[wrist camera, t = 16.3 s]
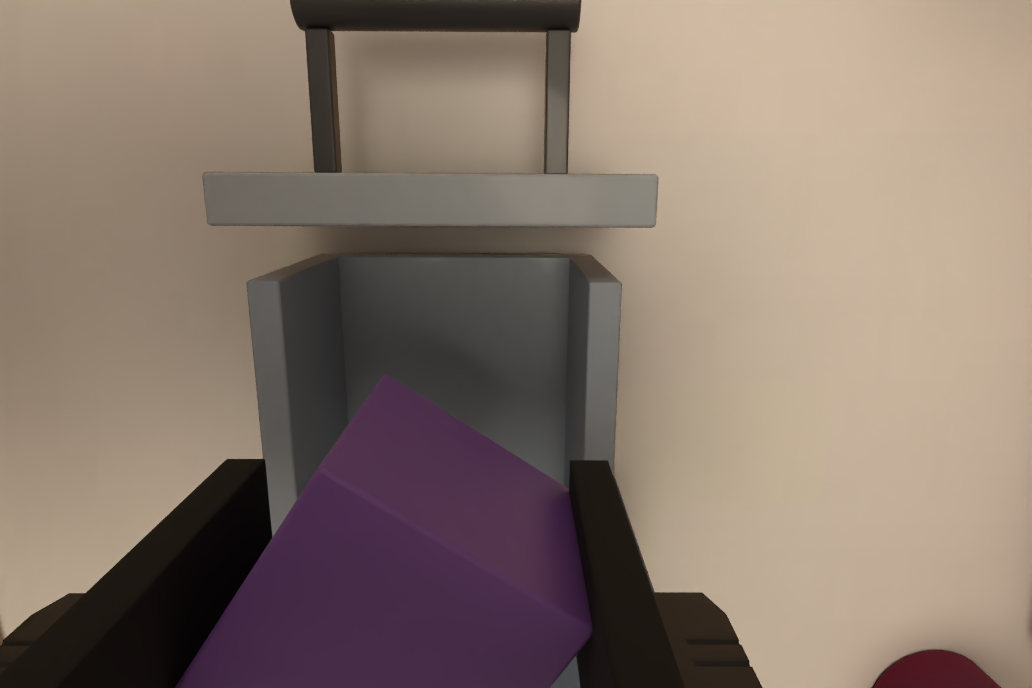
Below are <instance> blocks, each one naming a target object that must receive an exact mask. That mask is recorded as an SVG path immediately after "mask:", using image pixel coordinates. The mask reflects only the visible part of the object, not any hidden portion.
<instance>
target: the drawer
mask: <svg viewBox="0 0 1032 688" xmlns="http://www.w3.org/2000/svg"><path fill="white" fill-rule="evenodd" d="M290 4H291V9H292V13H293V16H294V19H295V22H296V24H297V26H298V27H299V29H301V30H303V31H305V37H306V52H307V67H308V82H309V97H310V112H311V127H312V142H313V157H314V171H315V173H292V172H205V173H203V175H202V178H203V187H204V197H205V206H206V215H207V223H208V224H209V225H211V226H409V227H625V228H652V227H655V225H656V214H657V196H658V176H657V175H655V174H567V173H568V137H569V93H570V50H571V32H577V31H578V28H579V22H580V12H581V0H290ZM331 31H426V32H547V33H546V57H545V126H544V174H487V173H341V172H342V165H341V147H340V130H339V112H338V95H337V77H336V59H335V42H334V34H333V33H332V32H331ZM247 292H248V303H249V313H250V324H251V335H252V345H253V356H254V366H255V377H256V388H257V398H258V409H259V419H260V430H261V440H262V451H263V459H265V463H266V473H267V484H268V495H269V506H270V517H271V527H272V537H273V536H274V534H275V533H276V531H277V530H278V528H279V527H280V525H281V524H282V522H283V520H284V519H285V517H286V516H287V514H288V513H289V511H290V510H291V508H292V507H293V505H294V504H295V502H296V500H297V499H298V497H299V496H300V494H301V493H302V491H303V490H304V488H305V487H306V485H307V483H308V482H309V480H310V479H311V477H312V476H313V474H314V473H315V471H316V470H317V468H318V467H319V465H320V464H321V462H322V461H323V460H324V458H325V457H326V455H327V454H328V453H329V451H330V450H331V448H332V447H333V446H334V444H335V443H336V441H337V440H338V439H339V437H340V436H341V434H342V433H343V432H344V430H345V429H346V427H347V426H348V425H349V423H350V422H351V420H352V419H353V417H354V416H355V415H356V413H357V412H358V410H359V409H360V408H361V406H362V405H363V403H364V402H365V401H366V399H367V398H368V396H369V395H370V394H371V392H372V391H373V389H374V388H375V387H376V385H377V384H378V382H379V381H380V379H381V378H382V377H383V376H384V375H388V376H390V377H392V378H393V379H395V380H396V381H398V382H400V383H401V384H403V385H404V386H406V387H408V388H409V389H411V390H412V391H414V392H415V393H417V394H419V395H420V396H422V397H423V398H425V399H427V400H428V401H430V402H431V403H433V404H435V405H436V406H438V407H439V408H441V409H443V410H444V411H446V412H447V413H449V414H450V415H452V416H454V417H455V418H457V419H458V420H460V421H462V422H463V423H465V424H466V425H468V426H470V427H471V428H473V429H474V430H476V431H478V432H479V433H481V434H482V435H484V436H486V437H487V438H489V439H490V440H492V441H493V442H495V443H497V444H498V445H500V446H501V447H503V448H505V449H506V450H508V451H509V452H511V453H513V454H514V455H516V456H517V457H519V458H521V459H522V460H524V461H525V462H527V463H528V464H530V465H532V466H533V467H535V468H536V469H538V470H540V471H541V472H543V473H544V474H546V475H548V476H549V477H551V478H552V479H554V480H556V481H557V482H559V483H560V484H562V485H563V486H565V487H567V488H568V489H569V473H570V460H608V462H609V465H610V468H611V471H612V474H613V476H614V453H615V430H616V408H617V385H618V362H619V339H620V317H621V294H622V283H621V282H620V281H619V280H618V279H617V278H616V277H614V276H613V275H612V274H611V273H610V272H609V271H608V270H607V269H606V268H605V267H603V266H602V265H601V264H600V263H599V262H598V261H597V260H596V259H595V258H594V257H593V256H591V255H538V254H319V255H317V256H314V257H312V258H309V259H306V260H304V261H301V262H298V263H295V264H293V265H290V266H287V267H284V268H282V269H279V270H276V271H273V272H271V273H268V274H265V275H263V276H260V277H257V278H254V279H252V280H249V281H247Z"/></svg>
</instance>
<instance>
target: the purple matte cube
mask: <svg viewBox="0 0 1032 688" xmlns="http://www.w3.org/2000/svg"><path fill="white" fill-rule="evenodd" d="M592 635H593V626H592V620H591V614H590V609H589V603H588V597H587V592H586V586H585V580H584V575H583V569H582V563H581V557H580V552H579V546H578V540H577V535H576V529H575V523H574V518H573V512H572V506H571V501H570V495H569V489H568V488H567V487H565V486H563V485H562V484H560V483H559V482H557V481H556V480H554V479H552V478H551V477H549V476H548V475H546V474H544V473H543V472H541V471H540V470H538V469H536V468H535V467H533V466H532V465H530V464H528V463H527V462H525V461H524V460H522V459H521V458H519V457H517V456H516V455H514V454H513V453H511V452H509V451H508V450H506V449H505V448H503V447H501V446H500V445H498V444H497V443H495V442H493V441H492V440H490V439H489V438H487V437H486V436H484V435H482V434H481V433H479V432H478V431H476V430H474V429H473V428H471V427H470V426H468V425H466V424H465V423H463V422H462V421H460V420H458V419H457V418H455V417H454V416H452V415H450V414H449V413H447V412H446V411H444V410H443V409H441V408H439V407H438V406H436V405H435V404H433V403H431V402H430V401H428V400H427V399H425V398H423V397H422V396H420V395H419V394H417V393H415V392H414V391H412V390H411V389H409V388H408V387H406V386H404V385H403V384H401V383H400V382H398V381H396V380H395V379H393V378H392V377H390V376H388V375H384V376H383V377H382V378H381V379H380V381H379V382H378V384H377V385H376V387H375V388H374V389H373V391H372V392H371V394H370V395H369V396H368V398H367V399H366V401H365V402H364V403H363V405H362V406H361V408H360V409H359V410H358V412H357V413H356V415H355V416H354V417H353V419H352V420H351V422H350V423H349V425H348V426H347V427H346V429H345V430H344V432H343V433H342V434H341V436H340V437H339V439H338V440H337V441H336V443H335V444H334V446H333V447H332V448H331V450H330V451H329V453H328V454H327V455H326V457H325V458H324V460H323V461H322V462H321V464H320V465H319V467H318V468H317V470H316V471H315V473H314V474H313V476H312V477H311V479H310V480H309V482H308V483H307V485H306V487H305V488H304V490H303V491H302V493H301V494H300V496H299V497H298V499H297V500H296V502H295V504H294V505H293V507H292V508H291V510H290V511H289V513H288V514H287V516H286V517H285V519H284V520H283V522H282V524H281V525H280V527H279V528H278V530H277V531H276V533H275V534H274V536H273V537H272V539H271V541H270V542H269V544H268V545H267V547H266V548H265V550H264V551H263V553H262V554H261V556H260V557H259V559H258V561H257V562H256V564H255V565H254V567H253V568H252V570H251V571H250V573H249V574H248V576H247V577H246V579H245V581H244V582H243V584H242V585H241V587H240V588H239V590H238V591H237V593H236V594H235V596H234V598H233V599H232V601H231V602H230V604H229V605H228V607H227V608H226V610H225V611H224V613H223V614H222V616H221V618H220V619H219V621H218V622H217V624H216V625H215V627H214V628H213V630H212V631H211V633H210V634H209V636H208V638H207V639H206V641H205V642H204V644H203V645H202V647H201V648H200V650H199V651H198V653H197V655H196V656H195V658H194V659H193V661H192V662H191V664H190V665H189V667H188V668H187V670H186V671H185V673H184V675H183V676H182V678H181V679H180V681H179V682H178V684H177V685H176V687H175V688H550V687H551V686H552V684H553V683H554V682H555V681H556V679H557V678H558V677H559V676H560V675H561V673H562V672H563V671H564V670H565V668H566V667H567V666H568V665H569V663H570V662H571V661H572V660H573V658H574V657H575V656H576V655H577V653H578V652H579V651H580V650H581V649H582V647H583V646H584V645H585V644H586V642H587V641H588V640H589V639H590V637H591V636H592Z"/></svg>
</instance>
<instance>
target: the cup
mask: <svg viewBox="0 0 1032 688" xmlns="http://www.w3.org/2000/svg"><path fill="white" fill-rule="evenodd" d="M873 688H1001V687H1000V686H999V685H998V684H997V683H996V682H994V681H993V680H992V679H991V678H990V677H989V676H988V675H987V674H986V673H985V672H984V671H983V670H981V669H980V668H979V667H978V666H977V665H976V664H975V663H974V662H973V661H971V660H969V659H968V658H966V657H964V656H962V655H959V654H956V653H954V652H948V651H926V652H921V653H916V654H914V655H911V656H908V657H906V658H904V659H902V660H900V661H898V662H897V663H895V664H894V665H892V666H891V667H890V668H889V669H887V670H886V671H885V672H884V673H883V674H882V676H881V677H880V678H879V679H878V681H877V682H876V684H875V685H874V687H873Z"/></svg>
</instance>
